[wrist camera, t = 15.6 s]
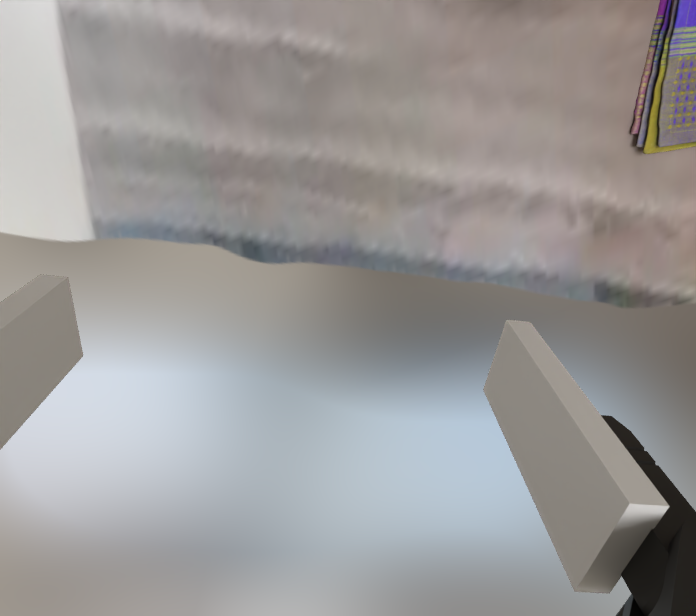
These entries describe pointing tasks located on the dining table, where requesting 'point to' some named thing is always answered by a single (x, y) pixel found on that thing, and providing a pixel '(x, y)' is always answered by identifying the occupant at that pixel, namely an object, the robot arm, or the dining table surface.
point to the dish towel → (669, 81)
